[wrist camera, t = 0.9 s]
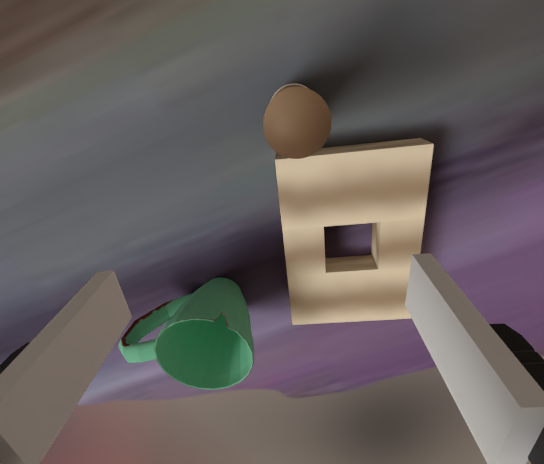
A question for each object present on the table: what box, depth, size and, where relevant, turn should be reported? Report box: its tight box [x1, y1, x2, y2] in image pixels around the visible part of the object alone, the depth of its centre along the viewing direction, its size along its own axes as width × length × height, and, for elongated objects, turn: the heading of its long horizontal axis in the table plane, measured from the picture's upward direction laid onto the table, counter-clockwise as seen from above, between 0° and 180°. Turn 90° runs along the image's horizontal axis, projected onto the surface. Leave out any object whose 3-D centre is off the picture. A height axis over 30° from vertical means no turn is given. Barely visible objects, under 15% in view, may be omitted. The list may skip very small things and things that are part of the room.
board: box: [275, 138, 434, 325], centre depth 33 cm, size 20×14×3 cm
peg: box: [263, 83, 331, 159], centre depth 23 cm, size 4×4×12 cm
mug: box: [119, 277, 254, 390], centre depth 35 cm, size 15×10×10 cm
